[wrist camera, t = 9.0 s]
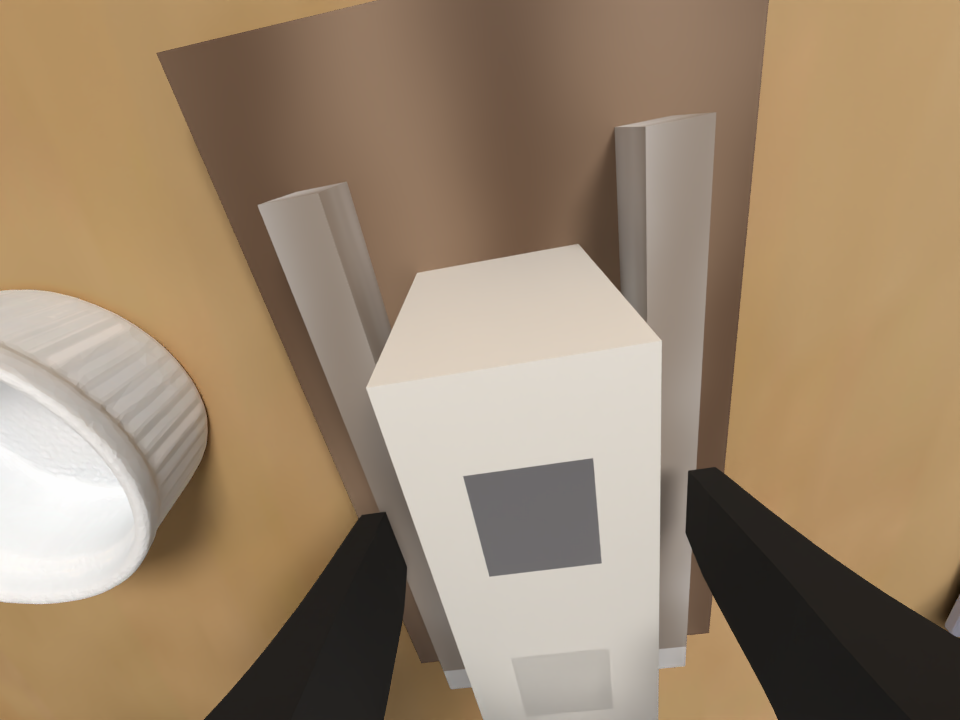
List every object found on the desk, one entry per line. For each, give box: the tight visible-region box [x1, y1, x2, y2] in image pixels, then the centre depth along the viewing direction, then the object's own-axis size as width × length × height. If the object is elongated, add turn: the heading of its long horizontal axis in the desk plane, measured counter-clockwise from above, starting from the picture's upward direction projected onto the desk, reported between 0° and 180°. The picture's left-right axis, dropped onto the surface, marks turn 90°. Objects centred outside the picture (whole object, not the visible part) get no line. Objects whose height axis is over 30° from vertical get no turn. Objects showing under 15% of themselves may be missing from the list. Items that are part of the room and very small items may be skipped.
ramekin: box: [0, 290, 208, 604], centre depth 13 cm, size 9×9×4 cm
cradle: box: [157, 0, 769, 689], centre depth 13 cm, size 12×22×4 cm, turn 10°
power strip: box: [366, 244, 662, 720], centre depth 11 cm, size 4×11×6 cm, turn 10°
